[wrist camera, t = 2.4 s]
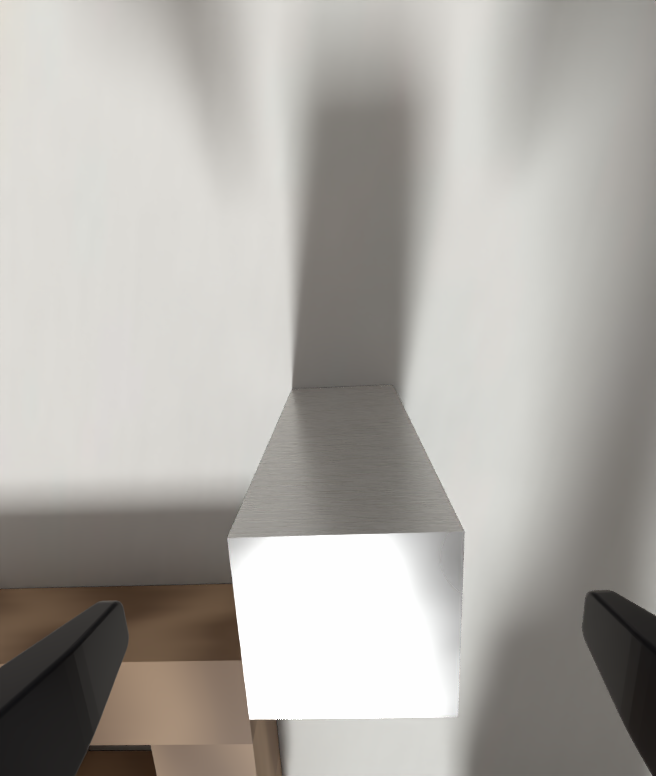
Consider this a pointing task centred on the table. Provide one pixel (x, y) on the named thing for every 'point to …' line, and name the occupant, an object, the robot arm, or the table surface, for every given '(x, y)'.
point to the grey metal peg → (347, 566)
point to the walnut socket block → (160, 679)
